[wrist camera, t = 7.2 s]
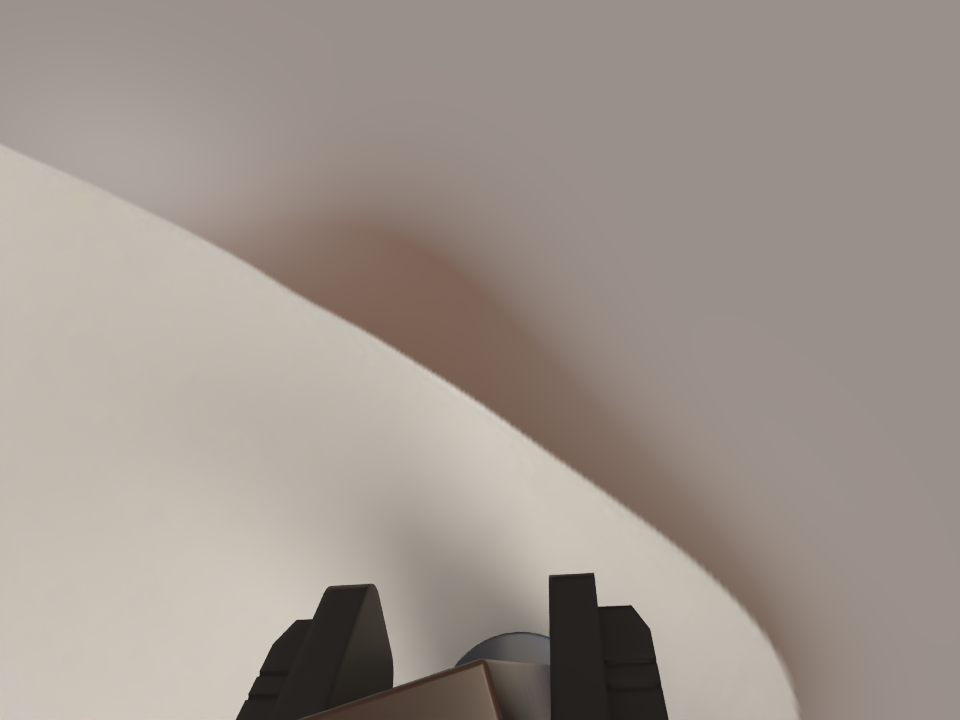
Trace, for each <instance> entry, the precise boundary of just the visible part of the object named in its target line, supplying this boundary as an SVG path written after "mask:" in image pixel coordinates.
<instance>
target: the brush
mask: <svg viewBox="0 0 960 720" xmlns="http://www.w3.org/2000/svg"><path fill="white" fill-rule="evenodd" d="M298 720H551V696H550V637H547V636H544V635H541V634H536V633H530V632H513V633H505V634H501V635H498V636H494V637H492V638H490V639H487V640H485V641H483V642H482V643H480V644H478V645H476V646H475V647H474V648H472V649H471V650H470V651H469V652H467V653H466V654H465V655H464V656H463V657H462V658H461V659H460V660H459V661H458V663H457V664H456V665H455V667H454V668H451V669H448V670H445V671H442V672H439V673H436V674H433V675H430V676H427V677H424V678H421V679H418V680H415V681H412V682H409V683H406V684H403V685H400V686H397V687H394V688H391V689H388V690H385V691H382V692H379V693H376V694H373V695H370V696H367V697H364V698H361V699H358V700H355V701H352V702H349V703H346V704H343V705H340V706H337V707H334V708H331V709H328V710H325V711H322V712H319V713H316V714H313V715H310V716H307V717H304V718H301V719H298Z"/></svg>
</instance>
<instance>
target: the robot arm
mask: <svg viewBox="0 0 960 720" xmlns="http://www.w3.org/2000/svg"><path fill="white" fill-rule="evenodd" d="M549 623H550V696H551V720H668V715H667V710H666V705H665V700H664V695H663V690H662V688H661V681H660V676H659V671H658V666H657V663H656V656H655V651H654V646H653V641H652V636H651V631H650V628H649V627H648V626H647V625H646V623H645V622H644V621H643V620H642V618H641V617H640V616H639V614H638V613H637V612H636V611H635V609H634V608H633V607H632V606H631V605H629V606H606V607H598V604H597V595H596V586H595V577H594V573H584V574H564V575H549ZM391 688H393V659H392V653H391V648H390V644H389V639H388V635H387V630H386V625H385V621H384V616H383V612H382V607H381V603H380V598H379V594H378V591H377V588H376V586H375V585H374V584H361V585H341V586H329V587H328V588H327V589H326V590H325V592H324V594H323V597H322V599H321V601H320V604H319V606H318V608H317V610H316V613H315V615H314V617H313V619H308V620H296V621H295V622H294V623H293V624H292V625H291V626H290V627H289V628H288V629H287V630H286V631H285V632H284V633H283V634H282V635H281V637H280V638H279V639H278V640H277V641H276V642H275V643H274V644H273V645H272V647H271V649H270V651H269V653H268V655H267V657H266V659H265V662H264V664H263V666H262V668H261V670H260V676H259V677H257V678H256V680H255V682H254V684H253V686H252V688H251V690H250V692H249V694H248V695H249V698H248V700H245V702H244V704H243V706H242V708H241V710H240V712H239V714H238V717H237V719H236V720H298V719H301V718H304V717H307V716H310V715H313V714H316V713H319V712H322V711H325V710H328V709H331V708H334V707H337V706H340V705H343V704H346V703H349V702H352V701H355V700H358V699H361V698H364V697H367V696H370V695H373V694H376V693H379V692H382V691H385V690H388V689H391Z"/></svg>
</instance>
